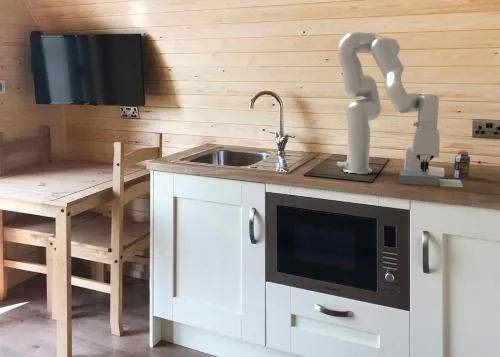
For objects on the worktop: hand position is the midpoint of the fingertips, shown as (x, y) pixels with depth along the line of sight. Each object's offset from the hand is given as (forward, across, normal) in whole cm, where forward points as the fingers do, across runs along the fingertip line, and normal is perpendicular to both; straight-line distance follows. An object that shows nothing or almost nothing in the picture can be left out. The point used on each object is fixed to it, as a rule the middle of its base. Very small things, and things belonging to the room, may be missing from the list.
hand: (424, 171), depth 214 cm
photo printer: (+5, -3, +19) cm, 19 cm away
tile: (+1, +4, 0) cm, 5 cm away
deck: (+4, -2, 0) cm, 5 cm away
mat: (+5, +10, 0) cm, 11 cm away
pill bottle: (+5, +15, +14) cm, 21 cm away
